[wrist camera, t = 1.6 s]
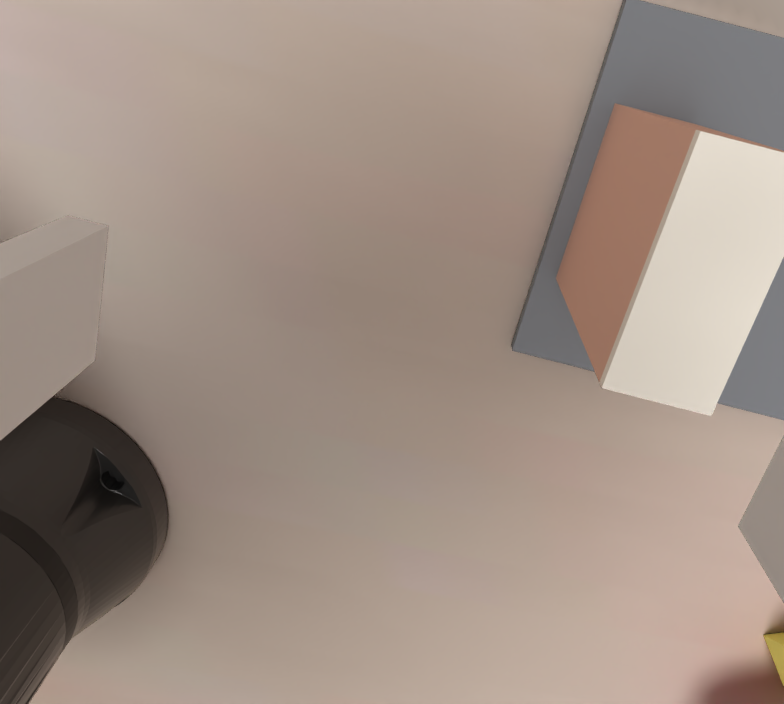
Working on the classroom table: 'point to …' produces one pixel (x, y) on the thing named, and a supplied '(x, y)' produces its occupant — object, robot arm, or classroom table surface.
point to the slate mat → (690, 104)
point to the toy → (777, 651)
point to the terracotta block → (672, 256)
